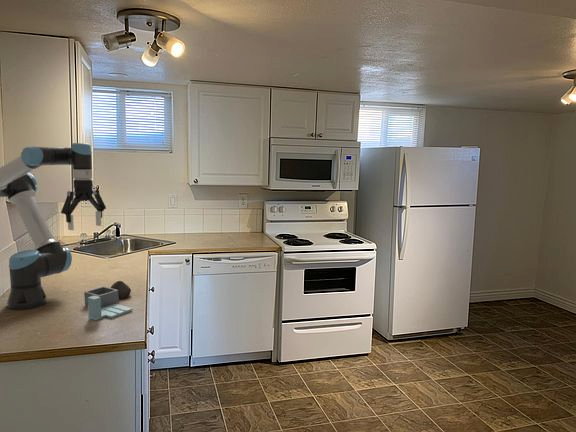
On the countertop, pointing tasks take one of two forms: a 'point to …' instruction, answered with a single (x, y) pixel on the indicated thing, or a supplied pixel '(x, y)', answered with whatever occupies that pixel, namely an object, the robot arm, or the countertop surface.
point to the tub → (103, 296)
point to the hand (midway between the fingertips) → (85, 227)
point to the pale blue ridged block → (104, 309)
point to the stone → (121, 289)
